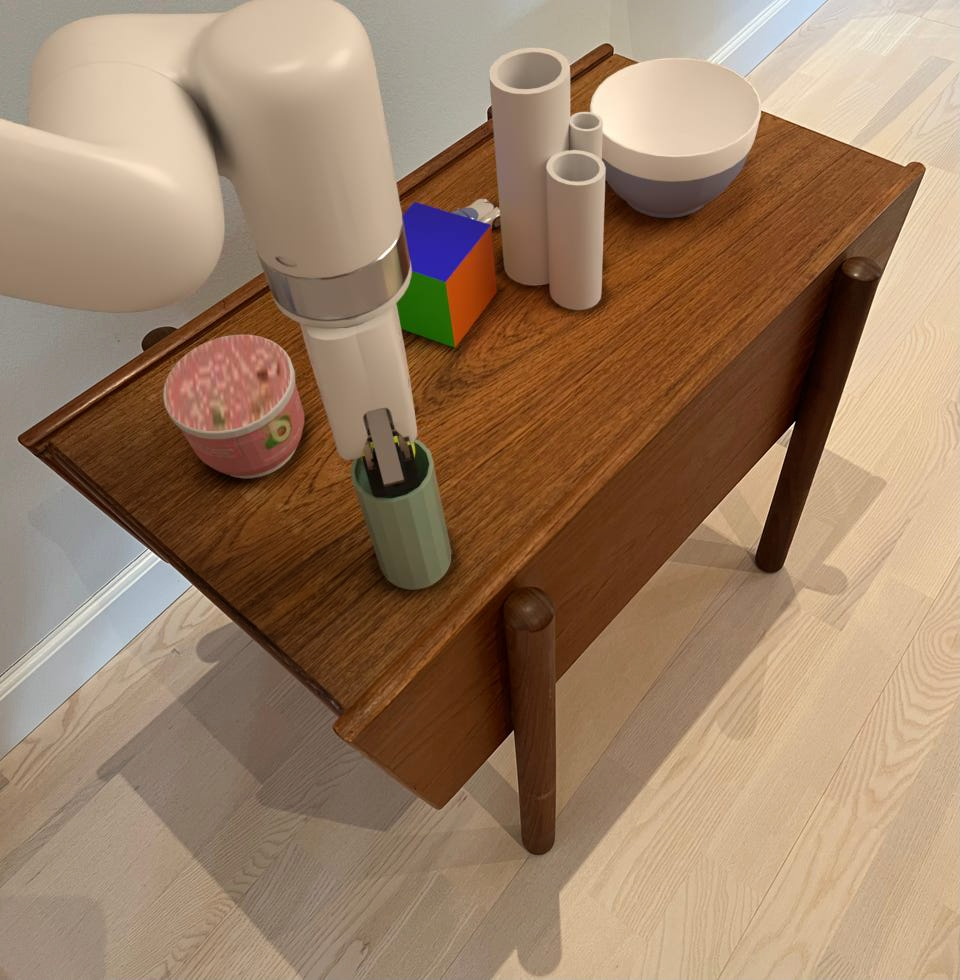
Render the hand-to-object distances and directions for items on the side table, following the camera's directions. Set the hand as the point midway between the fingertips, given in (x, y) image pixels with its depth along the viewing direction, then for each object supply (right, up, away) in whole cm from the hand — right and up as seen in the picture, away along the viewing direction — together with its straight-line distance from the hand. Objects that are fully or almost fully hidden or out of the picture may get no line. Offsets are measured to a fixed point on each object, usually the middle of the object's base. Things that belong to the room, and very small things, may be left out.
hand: (390, 465), depth 64 cm
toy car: (+6, +25, +32) cm, 41 cm away
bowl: (+25, +29, +33) cm, 51 cm away
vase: (+14, +19, +27) cm, 36 cm away
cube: (+2, +16, +26) cm, 30 cm away
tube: (+1, -7, +10) cm, 12 cm away
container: (-13, +2, +18) cm, 23 cm away
